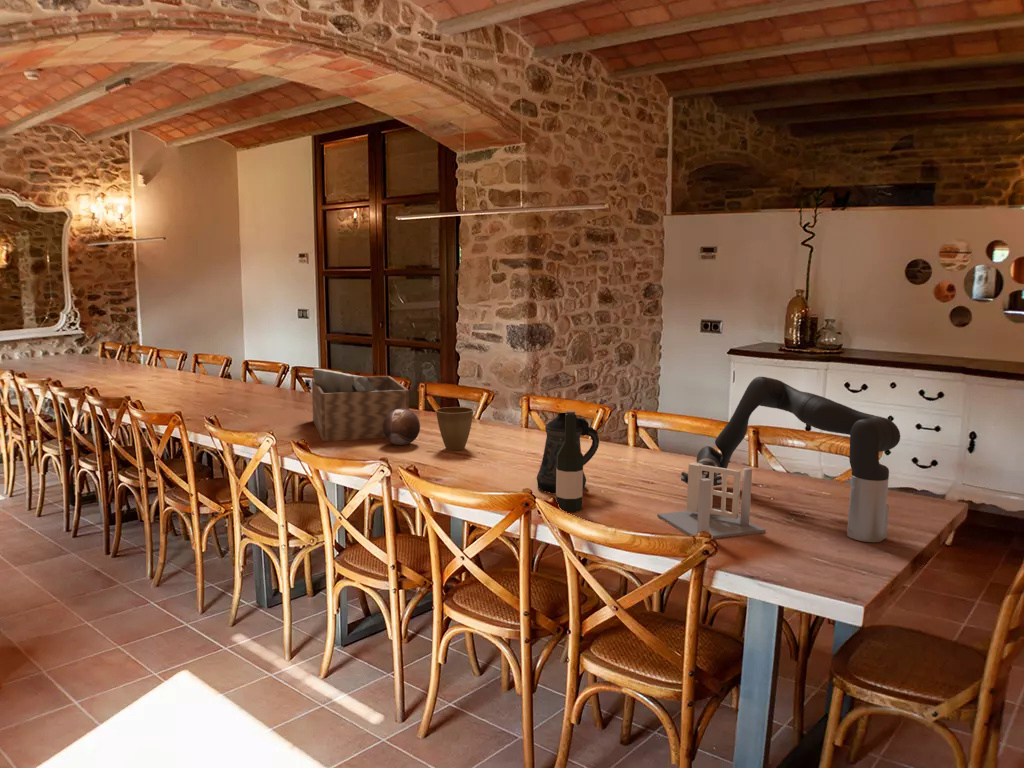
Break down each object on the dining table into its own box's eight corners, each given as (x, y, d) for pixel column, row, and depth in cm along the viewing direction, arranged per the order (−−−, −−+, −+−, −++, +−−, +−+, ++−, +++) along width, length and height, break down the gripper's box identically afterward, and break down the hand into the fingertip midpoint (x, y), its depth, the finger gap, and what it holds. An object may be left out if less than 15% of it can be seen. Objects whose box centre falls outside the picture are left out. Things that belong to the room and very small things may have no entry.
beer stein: (527, 484, 264) (528, 411, 260) (575, 477, 273) (576, 407, 269) (553, 497, 249) (555, 420, 246) (603, 489, 259) (605, 415, 255)
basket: (418, 428, 349) (416, 366, 346) (361, 438, 327) (358, 372, 324) (364, 420, 376) (361, 363, 373) (308, 429, 354) (305, 368, 351)
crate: (390, 416, 379) (389, 375, 376) (409, 436, 336) (408, 390, 334) (313, 420, 367) (311, 378, 364) (322, 441, 325) (321, 393, 322)
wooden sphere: (380, 448, 313) (380, 411, 310) (386, 440, 328) (385, 405, 325) (418, 449, 313) (417, 412, 311) (422, 440, 328) (421, 405, 325)
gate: (739, 517, 225) (741, 470, 222) (735, 520, 222) (738, 472, 220) (690, 508, 233) (692, 462, 231) (686, 510, 231) (688, 464, 229)
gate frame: (721, 509, 238) (724, 455, 236) (765, 532, 218) (769, 473, 216) (657, 516, 231) (659, 460, 229) (697, 540, 211) (700, 479, 209)
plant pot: (477, 445, 320) (477, 407, 317) (467, 454, 305) (467, 413, 303) (442, 443, 323) (442, 405, 321) (431, 451, 309) (430, 411, 306)
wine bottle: (578, 513, 233) (580, 414, 228) (551, 510, 236) (553, 412, 231) (585, 506, 240) (588, 410, 236) (559, 503, 243) (561, 408, 239)
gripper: (685, 458, 251) (675, 471, 235) (727, 462, 246) (720, 475, 231) (684, 481, 252) (674, 495, 237) (726, 485, 248) (718, 500, 232)
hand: (696, 485), depth 234 cm, fingers closed
